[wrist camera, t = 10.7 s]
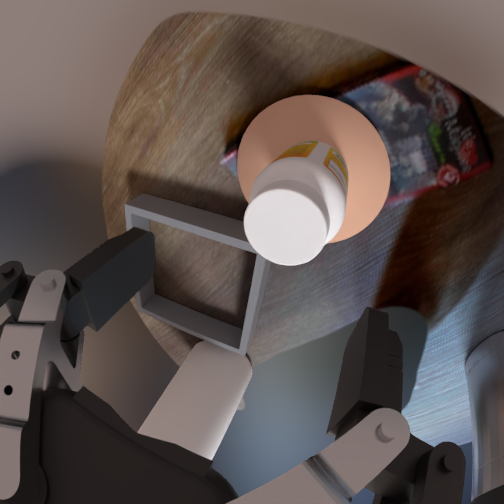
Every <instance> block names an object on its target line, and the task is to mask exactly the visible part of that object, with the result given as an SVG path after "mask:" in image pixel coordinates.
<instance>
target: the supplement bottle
mask: <svg viewBox="0 0 504 504" xmlns="http://www.w3.org/2000/svg"><path fill="white" fill-rule="evenodd" d="M348 182H349V175H348V169H347V165H346V163H345V161H344V159H343V157H342V156H341V155H340V153H339V152H338V151H337V150H336V149H334V148H333V147H332V146H330V145H328V144H326V143H323V142H320V141H313V140H309V141H302V142H299V143H297V144H295V145H293V146H291V147H290V148H288V149H287V150H286V151H285V152H284V153H282V154H281V155H280V156H279V157H278V158H276V159H275V160H274V161H273V162H271V163H270V164H269V165H268V166H267V167H265V168H264V169H263V170H262V172H261V173H260V174H259V175H258V176H257V178H256V179H255V181H254V183H253V185H252V188H251V192H250V201H249V205H248V207H247V209H246V211H245V215H244V230H245V234H246V236H247V239H248V241H249V242H250V244H251V245H252V247H253V248H254V249H255V250H256V251H257V252H258V253H259V254H260V255H261V256H263V257H264V258H266V259H268V260H269V261H272V262H274V263H277V264H281V265H299V264H302V263H305V262H308V261H310V260H311V259H313V258H314V257H315V256H316V255H317V254H318V253H319V252H320V251H321V250H322V248H323V246H324V245H325V244H327V243H328V242H329V241H330V240H332V239H333V238H334V236H335V235H336V234H337V233H338V231H339V229H340V228H341V226H342V223H343V220H344V216H345V211H346V202H347V193H348Z"/></svg>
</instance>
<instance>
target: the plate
mask: <svg viewBox="0 0 504 504" xmlns="http://www.w3.org/2000/svg"><path fill="white" fill-rule="evenodd" d="M309 140H313V141H320V142H323V143H326V144H328V145H330V146H332V147H333V148H334V149H336V150H337V151H338V152H339V153H340V155H341V156H342V157H343V159H344V161H345V163H346V165H347V169H348V175H349V182H348V193H347V202H346V211H345V216H344V220H343V223H342V226H341V228H340V229H339V231H338V233H337V234H336V235H335V236H334V238H333V239H332V240H330V241H329V242H328V243H333V242H337V241H341V240H344V239H347V238H349V237H351V236H353V235H355V234H357V233H359V232H360V231H361V230H363V229H364V228H366V227H367V226H368V225H369V224H370V223H371V222H372V221H373V220H374V218H375V217H376V216H377V215H378V213H379V212H380V210H381V208H382V207H383V205H384V202H385V200H386V197H387V194H388V190H389V185H390V164H389V158H388V154H387V151H386V148H385V145H384V143H383V141H382V139H381V137H380V135H379V134H378V132H377V131H376V129H375V128H374V126H373V125H372V124H371V123H370V122H369V121H368V119H367V118H366V117H364V116H363V115H362V114H361V113H360V112H359V111H357V110H356V109H354V108H353V107H351V106H350V105H348V104H346V103H344V102H342V101H339V100H336V99H333V98H330V97H325V96H320V95H300V96H293V97H289V98H285V99H283V100H280V101H278V102H276V103H274V104H272V105H270V106H269V107H267V108H266V109H264V110H263V111H262V112H261V113H259V114H258V115H257V116H256V118H255V119H254V120H253V121H252V122H251V124H250V125H249V126H248V128H247V129H246V131H245V133H244V135H243V137H242V140H241V143H240V146H239V151H238V158H237V170H238V178H239V183H240V186H241V189H242V192H243V194H244V196H245V198H246V200H247V202H248V204H249V201H250V192H251V188H252V185H253V183H254V181H255V179H256V178H257V176H258V175H259V174H260V173H261V172H262V170H263V169H264V168H265V167H267V166H268V165H269V164H270V163H271V162H273V161H274V160H275V159H276V158H278V157H279V156H280V155H281V154H282V153H284V152H285V151H286V150H287V149H288V148H290V147H291V146H293V145H295V144H297V143H299V142H302V141H309Z"/></svg>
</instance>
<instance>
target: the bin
mask: <svg viewBox="0 0 504 504" xmlns="http://www.w3.org/2000/svg"><path fill="white" fill-rule="evenodd" d="M125 218H126V229H127V231H128V230H130V229H131V228H133V227H138V228H141V229H144V230H146V231H149V232H150V220H154V221H157V222H160V223H163V224H166V225H169V226H172V227H175V228H178V229H181V230H185V231H188V232H191V233H194V234H197V235H200V236H203V237H206V238H209V239H212V240H216V241H219V242H222V243H225V244H228V245H231V246H234V247H237V248H240V249H244V250H247V251H250V252H253V253H256V254H257V257H256V262H255V268H254V273H253V278H252V284H251V289H250V294H249V300H248V305H247V310H246V316H245V321H244V326H243V329H241V328H238V327H235V326H233V325H230V324H228V323H225V322H222V321H220V320H217V319H215V318H212V317H210V316H207V315H204V314H202V313H200V312H197V311H195V310H192V309H190V308H187V307H185V306H182V305H180V304H178V303H175V302H173V301H171V300H168V299H166V298H164V297H161V296H159V295H157V294H155V290H154V280H153V277H152V278H151V280H150V281H149V282H148V283H147V284H145V285H144V286H143V287H142V288H141V289H140V290H139V291H138V292H137V293H136V294H135V298H136V304H137V310H139V311H141V312H143V313H145V314H147V315H149V316H151V317H153V318H156V319H158V320H160V321H162V322H164V323H166V324H169V325H171V326H173V327H175V328H177V329H180V330H182V331H184V332H187V333H189V334H191V335H193V336H196V337H198V338H201V339H203V340H205V341H208V342H210V343H213V344H215V345H218V346H220V347H223V348H225V349H228V350H230V351H233V352H235V353H238V354H241V355H243V356H245V355H246V353H247V351H248V349H249V347H250V345H251V342H252V340H253V338H254V335H255V330H256V326H257V322H258V318H259V314H260V309H261V305H262V301H263V296H264V292H265V288H266V283H267V279H268V275H269V270H270V266H271V261H269V260H268V259H266V258H264V257H263V256H261V255H260V254H259V253H258V252H257V251H256V250H255V249H254V248H253V247H252V245H251V244H250V242H249V241H248V239H247V236H246V234H245V230H244V222H243V221H240V220H236V219H233V218H229V217H226V216H223V215H219V214H216V213H212V212H209V211H205V210H202V209H198V208H195V207H191V206H188V205H184V204H181V203H177V202H174V201H170V200H166V199H163V198H159V197H155V196H152V195H148V194H144V193H142V194H141V195H139V196H137V197H135V198H134V199H132V200H130V201H129V202H127V203H125Z"/></svg>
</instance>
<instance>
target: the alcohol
mask: <svg viewBox="0 0 504 504" xmlns="http://www.w3.org/2000/svg"><path fill="white" fill-rule="evenodd" d="M251 376H252V368H251V364H250V361H249V359H248V358H247V356H246V355H245V356H243V355H241V354H238V353H235V352H233V351H230V350H228V349H225V348H223V347H220V346H218V345H215V344H213V343H210V342H208V341H205V340H204V341H202V342H199V343H197V344H196V345H195V346H194V347H193V349H192V350H191V352H190V353H189V355H188V356H187V358H186V359H185V361H184V362H183V364H182V365H181V367H180V369H179V370H178V372H177V373H176V375H175V376H174V378H173V379H172V381H171V382H170V384H169V385H168V387H167V388H166V390H165V391H164V393H163V394H162V396H161V397H160V399H159V400H158V402H157V403H156V405H155V406H154V408H153V410H152V411H151V413H150V414H149V416H148V417H147V419H146V420H145V422H144V423H143V425H142V426H141V428H140V429H139V431H138V432H137V433H139V434H142V435H146V436H149V437H152V438H156V439H159V440H163V441H167V442H171V443H175V444H177V445H179V446H181V447H183V448H185V449H187V450H190V451H192V452H194V453H196V454H198V455H200V456H203V457H205V458H207V459H209V460H212V459H213V457H214V455H215V453H216V451H217V449H218V446H219V445H220V443H221V441H222V438H223V436H224V434H225V432H226V430H227V428H228V426H229V424H230V422H231V420H232V418H233V415H234V413H235V411H236V409H237V407H238V405H239V403H240V401H241V398H242V396H243V394H244V392H245V390H246V387H247V385H248V383H249V381H250V379H251Z"/></svg>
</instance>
